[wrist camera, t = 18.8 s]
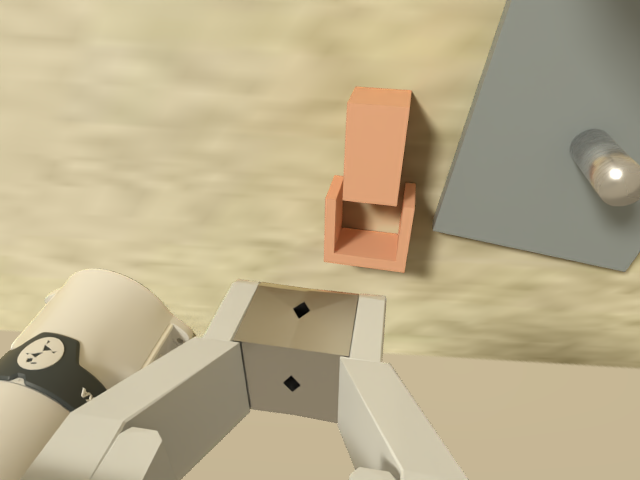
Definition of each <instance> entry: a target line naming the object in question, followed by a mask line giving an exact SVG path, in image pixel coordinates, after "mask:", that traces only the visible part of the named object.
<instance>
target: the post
mask: <svg viewBox="0 0 640 480" xmlns="http://www.w3.org/2000/svg"><path fill="white" fill-rule="evenodd" d="M570 155H571V157H572V158H573V160H574V161H575V162H576V164H577V165H578V167H579V168H580V169H581V171H582V172H583V174H584V175H585V177H586V178H587V179H588V181H589V182H590V184H591V185H592V186H593V188H594V189H595V191H596V192H597V193H598V195H599V196H600V198H601V199H602V200H603V201H604V202H605V203H606V204H608V205H611V206H626V205H629V204H632V203H634V202H636V201H638V200H639V199H640V166H639V165H638V164H637V163H636V162H635V161H634V160H633V159H632V158H631V157H630V156H629V155H628V154H627V153H626V152H625V151H624V150H623V149H622V148H621V147H620V146H619V145H618V144H617V143H616V142H615V141H614V140H613V139H612V138H611V137H610V136H609V135H608V134H607V133H606V132H605V131H603V130H600V129H590V130H586V131H584V132H582V133H580V134H579V135H578V136H576V137H575V138H574V140H573V141H572V143H571V145H570Z"/></svg>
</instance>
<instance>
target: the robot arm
mask: <svg viewBox="0 0 640 480" xmlns="http://www.w3.org/2000/svg"><path fill="white" fill-rule="evenodd" d="M45 303H46V305H45V307H44V308H43V309H42V310H41V311H40V312H39V313H38V314H37V316H36V317H35V318H34V319H33V320H32V321H31V322H30V324H29V325H28V326H27V327H26V328H25V329H24V331H23V332H22V333H21V334H20V335H19V336H18V338H17V339H16V340H15V341H14V343H13V344H12V346H11V350H10V351H8V352H7V353H6V354H5V355H4V356H3V357H2V358H1V359H0V480H181V479H182V478H183V477H184V476H185V475H186V474H187V473H188V472H189V471H190V470H191V469H192V468H193V467H194V466H195V465H196V464H197V463H198V462H199V461H200V460H201V459H202V458H203V457H204V456H205V455H206V454H207V453H208V452H209V451H210V450H212V449H213V448H214V447H215V446H216V445H217V444H218V443H219V442H220V441H221V440H222V439H223V438H224V437H225V436H226V435H227V434H228V433H229V432H230V431H231V430H232V429H233V428H234V427H235V426H236V425H237V424H238V423H239V422H240V421H241V420H242V419H243V418H244V417H245V416H246V415H247V414H248V413H249V412H250V409H254V410H261V411H269V412H277V413H284V414H291V415H297V416H302V417H308V418H313V419H318V420H323V421H328V422H334V423H338V428H339V430H340V433H341V435H342V438H343V440H344V443H345V445H346V448H347V450H348V453H349V455H350V458H351V460H352V463H353V465H354V468H355V471H354V472H353V473H351V474H350V477H349V480H468V478H467V477H466V475H465V474H464V472H463V471H462V470H461V468H460V466H459V465H458V463H457V462H456V460H455V459H454V457H453V456H452V454H451V453H450V451H449V450H448V448H447V447H446V446H445V444H444V442H443V441H442V440H441V438H440V437H439V436H438V434H437V432H436V431H435V429H434V428H433V426H432V425H431V423H430V422H429V420H428V419H427V417H426V416H425V414H424V413H423V411H422V410H421V409H420V407H419V405H418V404H417V403H416V401H415V400H414V398H413V396H412V395H411V394H410V392H409V391H408V389H407V388H406V386H405V385H404V383H403V382H402V380H401V379H400V377H399V376H398V374H397V373H396V371H395V370H394V368H393V367H392V365H391V364H389V363H383V362H382V356H383V342H384V327H385V313H386V297H385V296H380V295H370V294H360V295H359V294H355V293H346V292H337V291H327V290H318V289H309V288H302V287H295V286H288V285H281V284H274V283H266V282H256V281H249V280H242V279H237V280H236V281H235V282H233V283H232V285H231V287H230V289H229V290H228V292H227V294H226V296H225V298H224V299H223V301H222V303H221V305H220V307H219V308H218V310H217V312H216V314H215V316H214V317H213V319H212V321H211V323H210V325H209V326H208V328H207V330H206V332H205V334H204V336H203V337H196V336H195V337H193V331H192V329H191V328H190V327H189V326H188V325H187V324H185V323H184V322H183V321H181V320H180V319H179V318H177V317H176V316H174V315H173V314H172V313H171V312H170V311H169V310H168V308H167V307H166V306H165V305H164V304H163V303H162V301H161V300H160V299H159V298H158V297H157V296H156V295H154V294H153V293H152V292H151V291H150V290H148V289H147V288H146V287H144V286H143V285H141V284H140V283H138V282H136V281H135V280H133V279H131V278H129V277H127V276H124V275H122V274H119V273H116V272H113V271H109V270H104V269H84V270H80V271H78V272H76V273H74V274H72V275H71V276H70V277H69V278H68V280H67V281H66V283H65V284H64V285H63V287H62V288H59V289H56V290H53V291H51V292H50V293H49V294H48V295H47V297H46V298H45Z"/></svg>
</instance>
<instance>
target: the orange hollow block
mask: <svg viewBox="0 0 640 480" xmlns="http://www.w3.org/2000/svg"><path fill="white" fill-rule="evenodd" d="M410 101H411V90H397V89H382V88H367V87H355V89H354V91H353V93H352V95H351V97H350V99H349V101H348V102H347V118H346V139H345V160H344V176H336V175H335V176H334V178H333V181H332V183H331V186H330V188H329V191H328V193H327V196H326V198H325V240H324V262H329V263H337V264H344V265H351V266H359V267H366V268H374V269H381V270H389V271H396V272H403V273H404V271H405V265H406V259H407V253H408V247H409V241H410V235H411V228H412V222H413V216H414V210H415V189H416V184H415V183H405V190H404V197H403V204H402V211H401V218H400V225H399V232H398V234H393V233H385V232H377V231H369V230H360V229H352V228H344V227H342V210H343V200H344V201H353V202H362V203H371V204H380V205H389V206H397V200H398V193H399V185H400V178H401V170H402V163H403V155H404V148H405V140H406V133H407V125H408V118H409V110H410Z"/></svg>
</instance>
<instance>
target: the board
mask: <svg viewBox="0 0 640 480" xmlns="http://www.w3.org/2000/svg"><path fill="white" fill-rule="evenodd" d="M590 129H600V130H603V131H605V132H606V133H607V134H608V135H609V136H610V137H611V138H612V139H613V140H614V141H615V142H616V143H617V144H618V145H619V146H620V147H621V148H622V149H623V150H624V151H625V152H626V153H627V154H628V155H629V156H630V157H631V158H632V159H633V160H634V161H635V162H636V163H637V164H638V165H639V166H640V0H507V1H506V4H505V7H504V10H503V13H502V16H501V19H500V22H499V25H498V28H497V31H496V34H495V37H494V40H493V43H492V46H491V49H490V52H489V55H488V58H487V61H486V64H485V67H484V70H483V73H482V75H481V78H480V81H479V84H478V87H477V90H476V93H475V96H474V99H473V102H472V105H471V108H470V111H469V114H468V117H467V120H466V123H465V126H464V129H463V132H462V135H461V138H460V141H459V144H458V147H457V150H456V153H455V156H454V159H453V162H452V165H451V168H450V171H449V174H448V177H447V180H446V183H445V185H444V188H443V191H442V194H441V197H440V200H439V203H438V206H437V209H436V212H435V215H434V218H433V231H437V232H441V233H446V234H451V235H455V236H460V237H465V238H469V239H474V240H479V241H483V242H488V243H493V244H497V245H502V246H507V247H511V248H516V249H521V250H525V251H530V252H535V253H539V254H544V255H549V256H553V257H558V258H563V259H567V260H572V261H577V262H581V263H586V264H591V265H595V266H600V267H605V268H609V269H614V270H619V271H623V272H625V271H626V270H627V269H628V267H629V266H630V265H631V263H632V262H633V260H634V259H635V258H636V256H637V255H638V253H639V252H640V199H639V200H638V201H636V202H634V203H632V204H629V205H626V206H611V205H608V204H606V203H605V202H604V201H603V200H602V199H601V198H600V196H599V195H598V193H597V192H596V191H595V189H594V188H593V186H592V185H591V184H590V182H589V181H588V179H587V178H586V177H585V175H584V174H583V172H582V171H581V169H580V168H579V167H578V165H577V164H576V162H575V161H574V160H573V158H572V157H571V155H570V145H571V143H572V141H573V140H574V138H575V137H576V136H578V135H579V134H580V133H582V132H584V131H586V130H590Z"/></svg>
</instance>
